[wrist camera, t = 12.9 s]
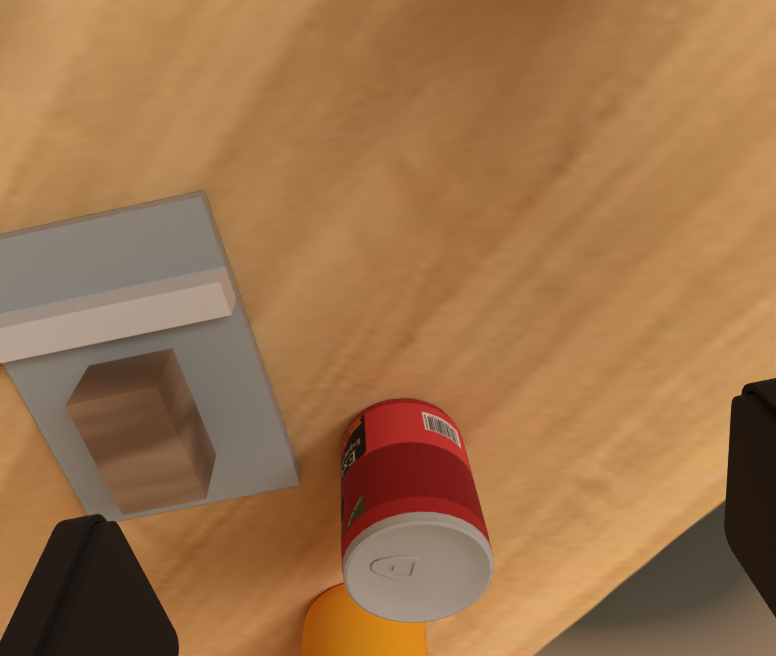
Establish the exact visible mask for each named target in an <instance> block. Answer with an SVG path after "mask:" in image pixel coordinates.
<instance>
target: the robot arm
mask: <svg viewBox="0 0 776 656" xmlns="http://www.w3.org/2000/svg"><path fill="white" fill-rule="evenodd" d="M724 527H725V534H726V538H727V541H728V544H729V546H730V547H731V550H732V552H733V553H734V555H735V556H736V558H737V559H738V561H739V562H740V564H741V565H742V567H743V568H744V570H745V572H746V573H747V575H748V576H749V578H750V579H751V581H752V582H753V584H754V585H755V587H756V588H757V590H758V591H759V593H760V594H761V596H762V598H763V599H764V601H765V602H766V604H767V605H768V607H769V608H770V610H771V611H772V613H773V614H774V616H775V617H776V378H774V379H769V380H764V381H759V382H754V383H749V384H746V385H745V386H744V387H743V389H742V394H741V395H740V396H736V397H734V398H733V400H732V404H731V420H730V437H729V454H728V471H727V488H726V506H725V523H724ZM178 654H179V644H178V637H177V634H176V631H175V629H174V627H173V626H172V624H171V622H170V620H169V618H168V616H167V614H166V613H165V611H164V609H163V607H162V605H161V603H160V601H159V599H158V598H157V596H156V594H155V592H154V590H153V588H152V586H151V585H150V583H149V581H148V579H147V577H146V575H145V573H144V572H143V570H142V568H141V566H140V564H139V562H138V560H137V558H136V557H135V555H134V553H133V551H132V549H131V547H130V545H129V544H128V542H127V540H126V538H125V536H124V534H123V532H122V530H121V529H120V527H119V525H118V524H117V523H116V522H115V521H107V520H106V519H105V517H104V516H102V515H101V514H94V515H89V516H84V517H79V518H74V519H69V520H64V521H61V522H59V523H58V524H57V525H56V527H55V528H54V530H53V532H52V534H51V536H50V538H49V540H48V542H47V545H46V547H45V549H44V551H43V553H42V555H41V557H40V559H39V561H38V563H37V566H36V568H35V570H34V572H33V574H32V576H31V578H30V580H29V582H28V584H27V586H26V589H25V591H24V593H23V595H22V597H21V599H20V601H19V603H18V605H17V607H16V610H15V612H14V614H13V616H12V618H11V620H10V622H9V624H8V626H7V628H6V631H5V633H4V635H3V637H2V639H1V641H0V656H178Z"/></svg>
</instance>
